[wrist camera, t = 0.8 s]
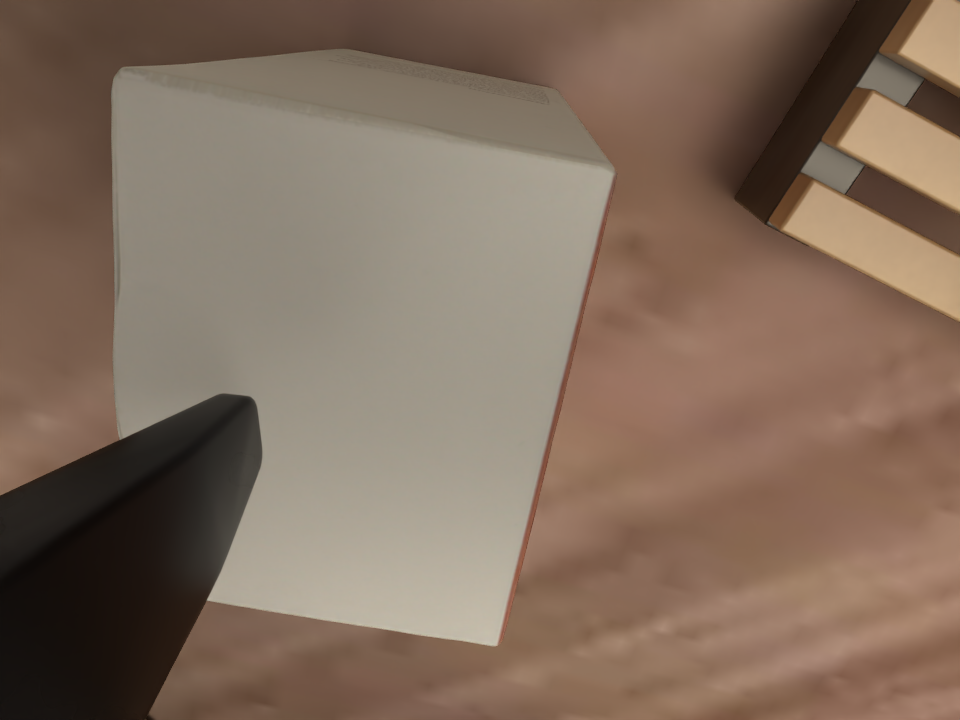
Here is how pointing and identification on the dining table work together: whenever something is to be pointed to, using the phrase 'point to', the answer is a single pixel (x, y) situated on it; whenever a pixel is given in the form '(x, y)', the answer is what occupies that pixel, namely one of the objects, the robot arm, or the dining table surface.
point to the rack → (870, 148)
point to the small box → (359, 314)
